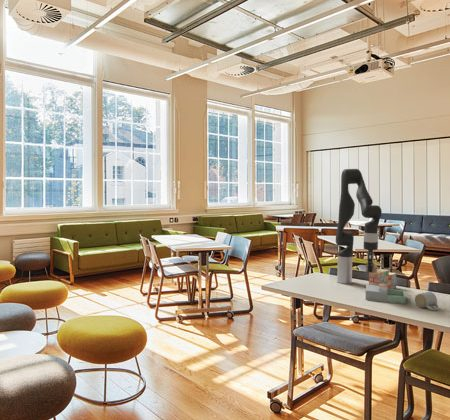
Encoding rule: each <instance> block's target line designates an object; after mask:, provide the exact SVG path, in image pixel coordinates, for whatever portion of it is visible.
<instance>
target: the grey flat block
mask: <svg viewBox="0 0 450 420" xmlns="http://www.w3.org/2000/svg"><path fill="white" fill-rule="evenodd" d="M386 287H387V286H386ZM365 300H367V301H375V302H385V303H386V302H387V292H384V291H379V286H377V285H369V284H366V286H365ZM387 303H388V302H387Z"/></svg>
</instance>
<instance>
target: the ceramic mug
mask: <svg viewBox="0 0 450 420" xmlns="http://www.w3.org/2000/svg"><path fill="white" fill-rule="evenodd" d="M414 303H415V305H416V306H417V307H418V308H420V309H426V308H427V309H429V310H431V311H435V312H436V311H437V310H438V309H439V305H438V299H437V296H436V294H435V293H433V292H432V291H425V292H422V293H418V294H416V295H415V296H414Z"/></svg>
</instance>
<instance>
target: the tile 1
mask: <svg viewBox="0 0 450 420" xmlns="http://www.w3.org/2000/svg"><path fill="white" fill-rule="evenodd" d="M379 291H384V292H387V287H379Z"/></svg>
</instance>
